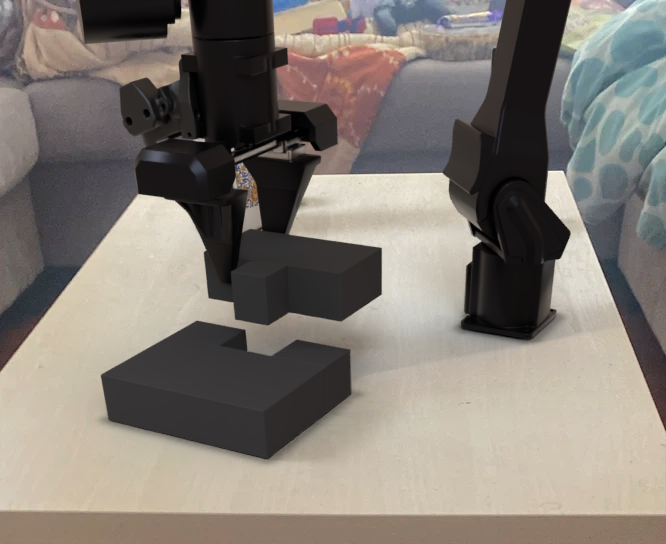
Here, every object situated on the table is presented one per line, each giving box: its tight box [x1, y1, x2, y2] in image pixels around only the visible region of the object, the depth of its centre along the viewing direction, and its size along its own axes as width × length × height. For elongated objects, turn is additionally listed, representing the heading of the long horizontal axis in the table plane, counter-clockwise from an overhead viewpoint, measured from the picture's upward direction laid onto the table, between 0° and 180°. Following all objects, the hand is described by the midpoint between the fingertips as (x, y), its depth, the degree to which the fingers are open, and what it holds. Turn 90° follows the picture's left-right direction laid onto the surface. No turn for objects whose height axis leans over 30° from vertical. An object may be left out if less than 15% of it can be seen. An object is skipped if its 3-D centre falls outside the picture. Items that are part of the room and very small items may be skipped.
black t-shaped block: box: [203, 229, 383, 326], centre depth 79 cm, size 12×10×4 cm
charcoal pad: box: [100, 320, 352, 460], centre depth 77 cm, size 14×12×4 cm
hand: (251, 269), depth 82 cm, fingers closed on black t-shaped block, 6 cm apart
